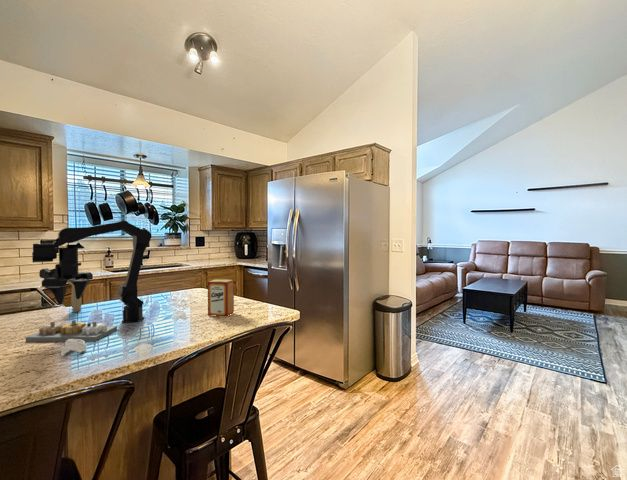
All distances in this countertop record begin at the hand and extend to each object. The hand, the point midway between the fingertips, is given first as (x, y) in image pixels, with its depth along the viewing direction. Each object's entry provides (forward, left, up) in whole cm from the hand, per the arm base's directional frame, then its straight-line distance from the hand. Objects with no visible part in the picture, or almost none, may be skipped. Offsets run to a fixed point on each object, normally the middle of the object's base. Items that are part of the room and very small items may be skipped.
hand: (69, 301), depth 117 cm
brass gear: (-5, +5, -10) cm, 12 cm away
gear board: (-5, +5, -12) cm, 13 cm away
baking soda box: (-51, -23, -12) cm, 57 cm away
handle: (+20, -30, -12) cm, 38 cm away
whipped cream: (-17, +20, -12) cm, 29 cm away
